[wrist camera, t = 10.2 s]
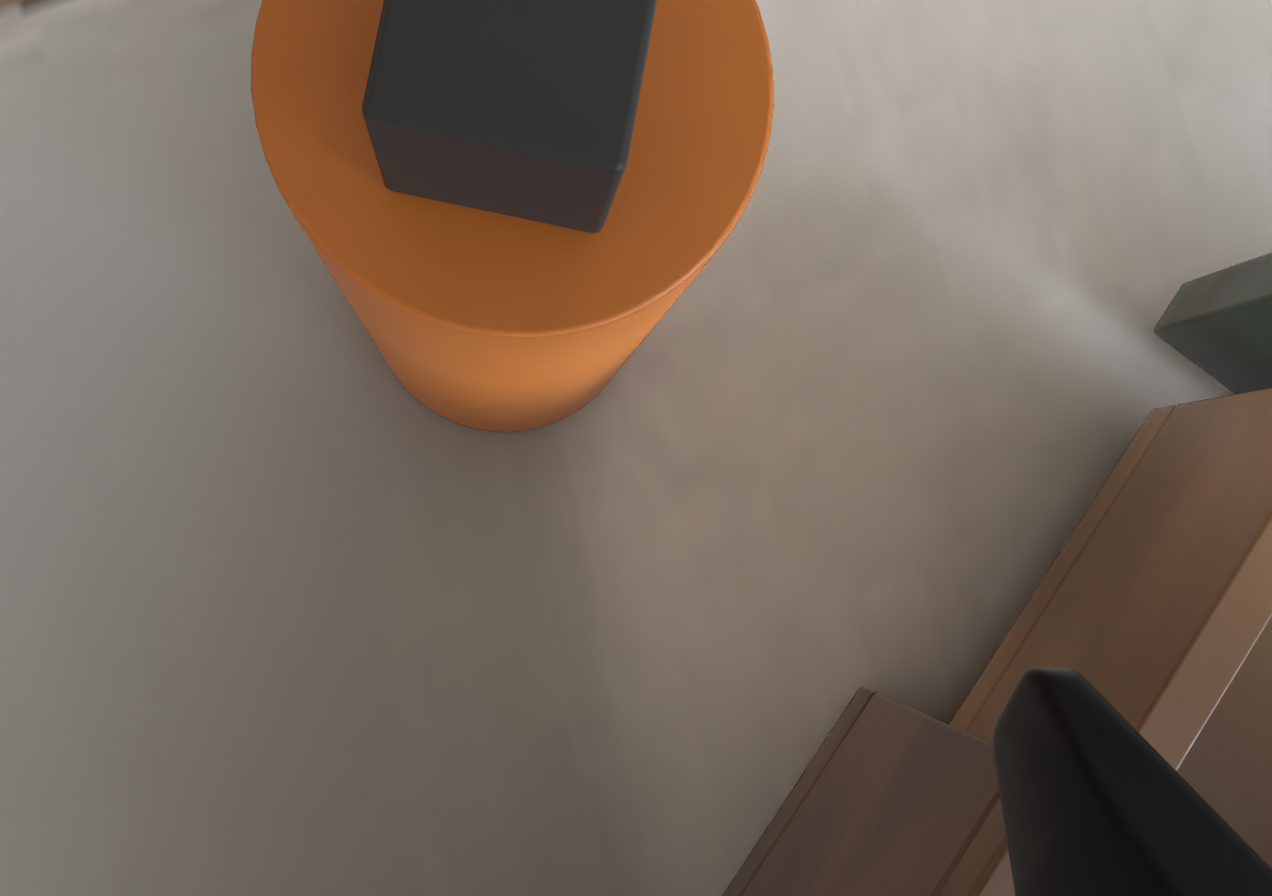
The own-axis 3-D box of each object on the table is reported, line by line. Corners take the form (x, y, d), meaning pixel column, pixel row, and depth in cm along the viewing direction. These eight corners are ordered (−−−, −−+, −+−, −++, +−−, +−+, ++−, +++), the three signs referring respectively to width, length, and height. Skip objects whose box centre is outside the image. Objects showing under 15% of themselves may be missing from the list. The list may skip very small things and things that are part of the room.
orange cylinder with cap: (609, 454, 22) (780, 352, 9) (348, 404, 21) (130, 221, 8) (654, 203, 22) (882, -241, 9) (399, 149, 22) (267, -401, 9)
